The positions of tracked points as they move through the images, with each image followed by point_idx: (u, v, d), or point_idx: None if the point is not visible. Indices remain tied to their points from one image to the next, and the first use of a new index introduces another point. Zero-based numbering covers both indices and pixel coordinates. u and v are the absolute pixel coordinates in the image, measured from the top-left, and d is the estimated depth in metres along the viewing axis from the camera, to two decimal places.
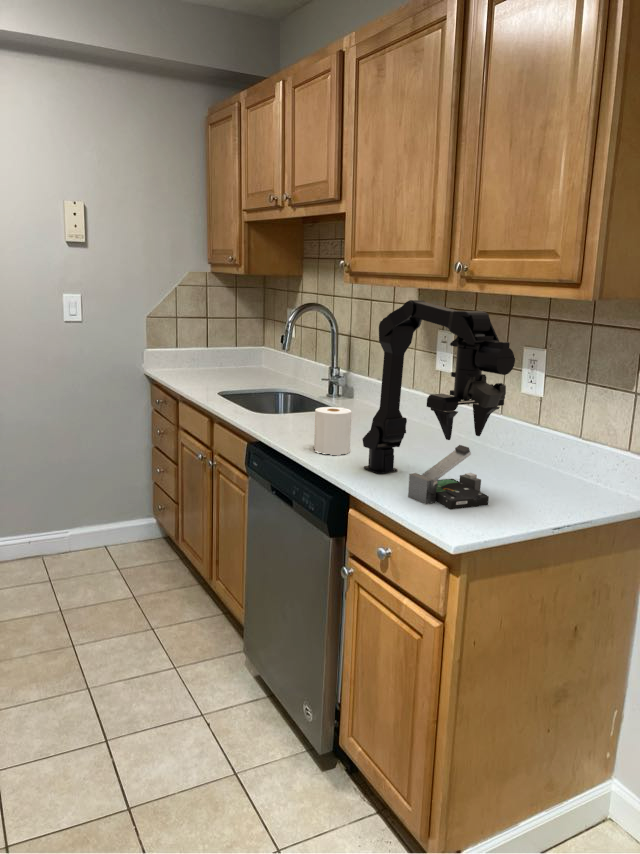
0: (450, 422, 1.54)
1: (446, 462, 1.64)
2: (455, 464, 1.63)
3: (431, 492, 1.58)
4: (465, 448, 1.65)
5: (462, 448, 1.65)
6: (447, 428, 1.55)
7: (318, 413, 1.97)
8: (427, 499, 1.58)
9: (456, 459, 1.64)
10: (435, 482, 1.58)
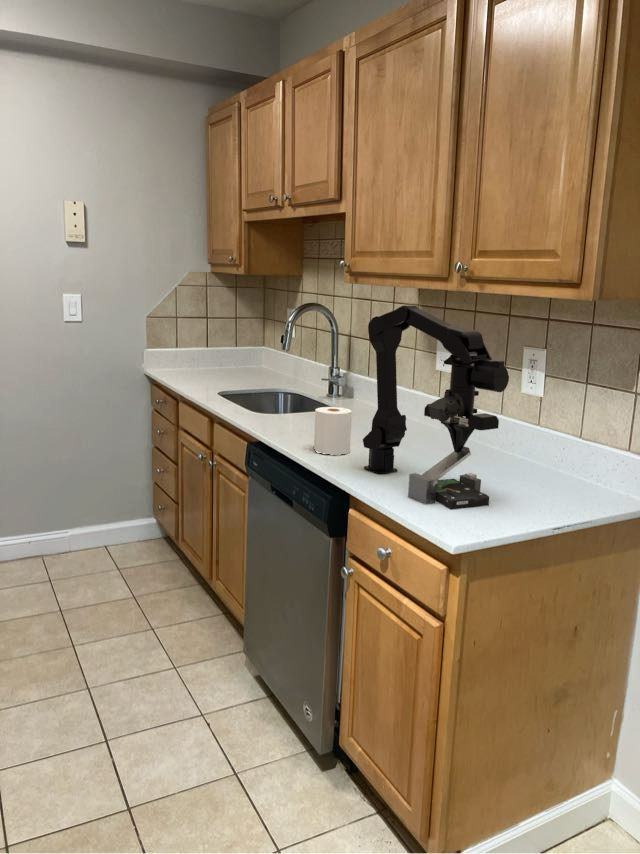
0: (452, 434, 1.64)
1: (446, 462, 1.64)
2: (455, 464, 1.63)
3: (431, 492, 1.58)
4: (465, 448, 1.65)
5: (462, 448, 1.65)
6: None
7: (318, 413, 1.97)
8: (427, 499, 1.58)
9: (456, 459, 1.64)
10: (435, 482, 1.58)
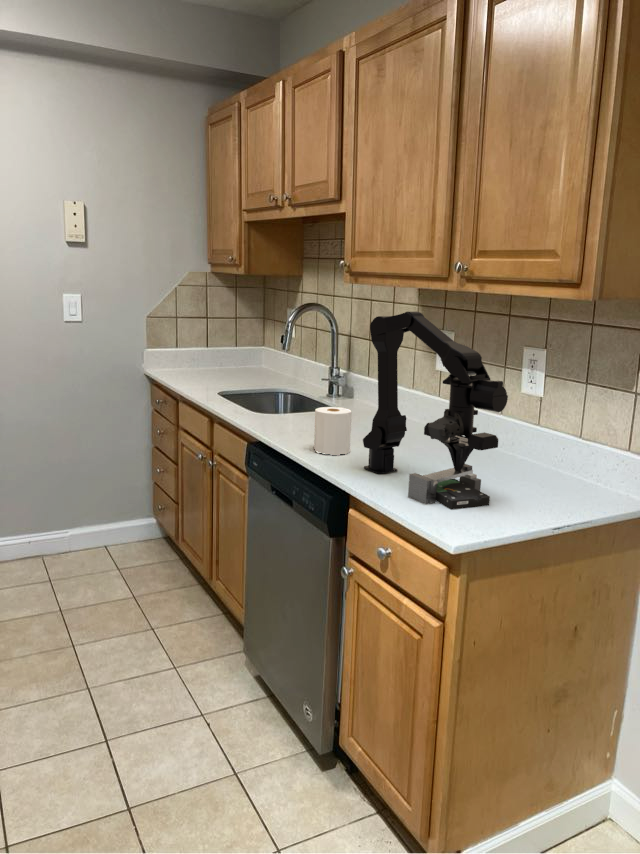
0: (452, 452, 1.65)
1: (448, 472, 1.65)
2: (456, 475, 1.64)
3: (431, 492, 1.58)
4: (468, 466, 1.67)
5: (465, 465, 1.67)
6: None
7: (318, 413, 1.97)
8: (427, 499, 1.58)
9: (458, 472, 1.65)
10: (435, 482, 1.58)
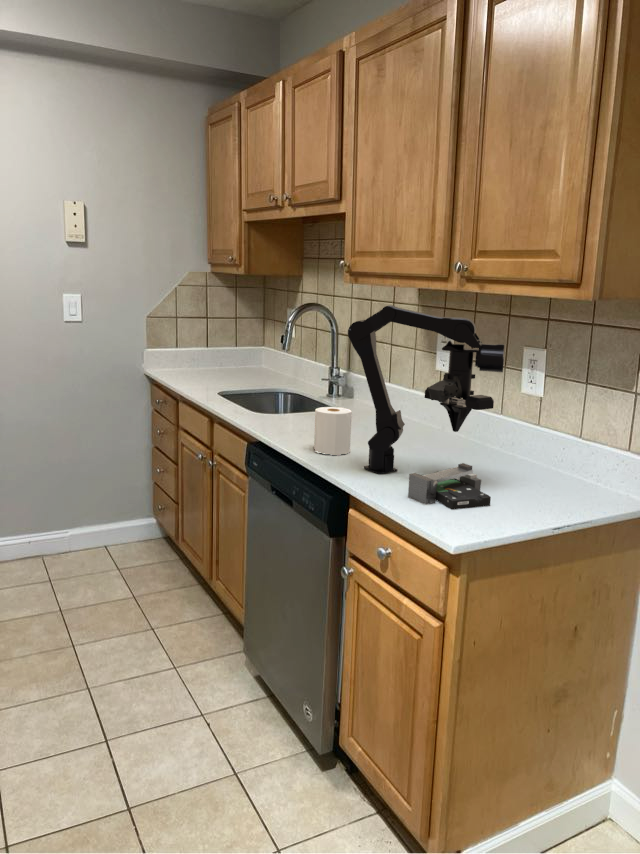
0: (450, 414, 1.77)
1: (448, 472, 1.65)
2: (456, 475, 1.64)
3: (431, 492, 1.58)
4: (468, 466, 1.67)
5: (465, 465, 1.67)
6: None
7: (318, 413, 1.97)
8: (427, 499, 1.58)
9: (458, 472, 1.65)
10: (435, 482, 1.58)
